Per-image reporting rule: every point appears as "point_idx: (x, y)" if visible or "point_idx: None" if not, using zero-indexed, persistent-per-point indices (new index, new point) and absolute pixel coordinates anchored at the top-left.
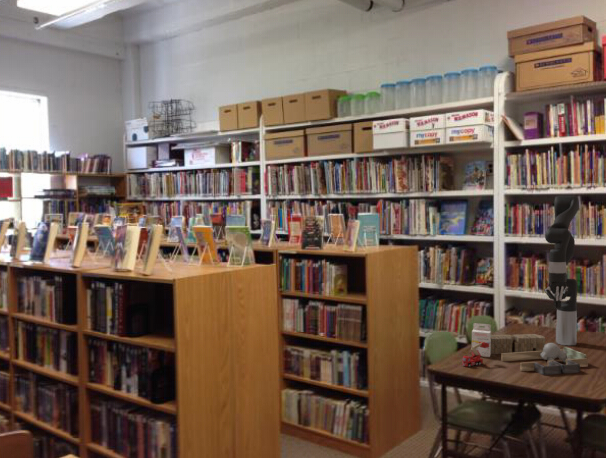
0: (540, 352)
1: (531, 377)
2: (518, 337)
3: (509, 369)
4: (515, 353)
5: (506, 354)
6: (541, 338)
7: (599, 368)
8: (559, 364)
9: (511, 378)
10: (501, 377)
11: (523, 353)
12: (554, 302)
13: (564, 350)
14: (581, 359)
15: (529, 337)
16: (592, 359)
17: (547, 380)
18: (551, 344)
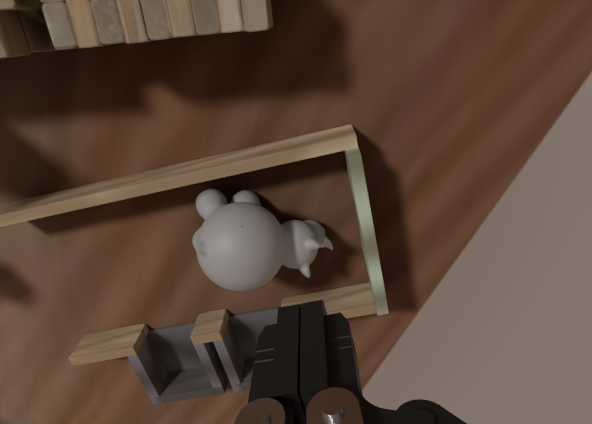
0: (201, 180)
1: (117, 396)
2: (55, 27)
3: (45, 318)
4: (58, 213)
5: (11, 223)
6: (238, 30)
7: (414, 312)
8: (227, 374)
9: (49, 403)
10: (15, 394)
11: (103, 202)
12: (259, 394)
13: (311, 246)
14: (353, 316)
15: (144, 19)
16: (471, 181)
17: (165, 420)
18: (228, 283)
